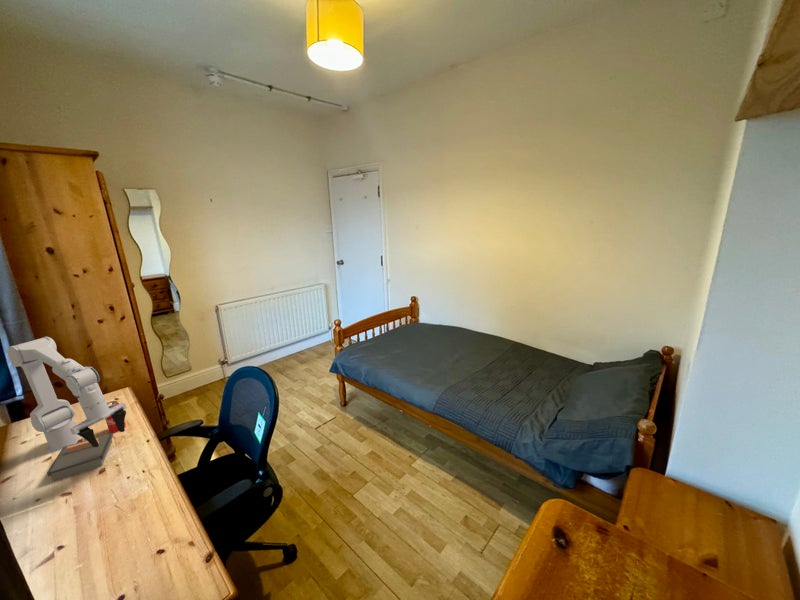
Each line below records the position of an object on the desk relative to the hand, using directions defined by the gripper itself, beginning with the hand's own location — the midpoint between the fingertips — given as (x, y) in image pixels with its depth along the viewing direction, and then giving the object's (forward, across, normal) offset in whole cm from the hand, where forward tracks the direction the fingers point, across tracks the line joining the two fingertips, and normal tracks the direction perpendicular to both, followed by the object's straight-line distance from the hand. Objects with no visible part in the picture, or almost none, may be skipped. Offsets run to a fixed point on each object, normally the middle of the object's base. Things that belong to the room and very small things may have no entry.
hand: (109, 438), depth 107 cm
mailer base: (+8, -3, +15) cm, 17 cm away
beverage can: (+7, +12, +23) cm, 27 cm away
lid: (+5, -3, +14) cm, 15 cm away
